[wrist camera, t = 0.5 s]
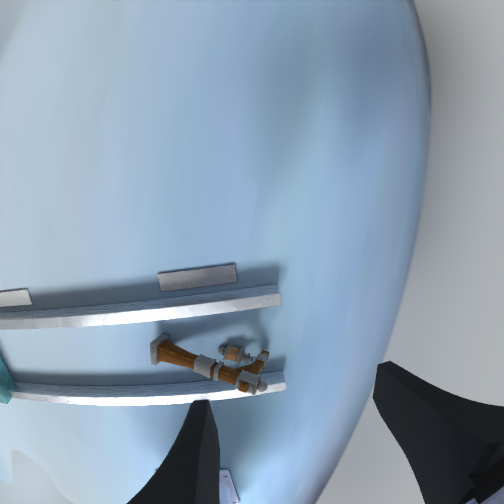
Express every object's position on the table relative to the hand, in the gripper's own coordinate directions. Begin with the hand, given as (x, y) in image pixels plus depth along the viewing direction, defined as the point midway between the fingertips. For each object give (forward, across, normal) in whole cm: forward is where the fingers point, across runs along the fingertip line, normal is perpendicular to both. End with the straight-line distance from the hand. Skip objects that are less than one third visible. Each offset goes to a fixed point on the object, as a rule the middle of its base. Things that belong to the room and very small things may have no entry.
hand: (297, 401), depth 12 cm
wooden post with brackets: (+10, +4, +3) cm, 11 cm away
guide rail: (+10, +12, +3) cm, 16 cm away
